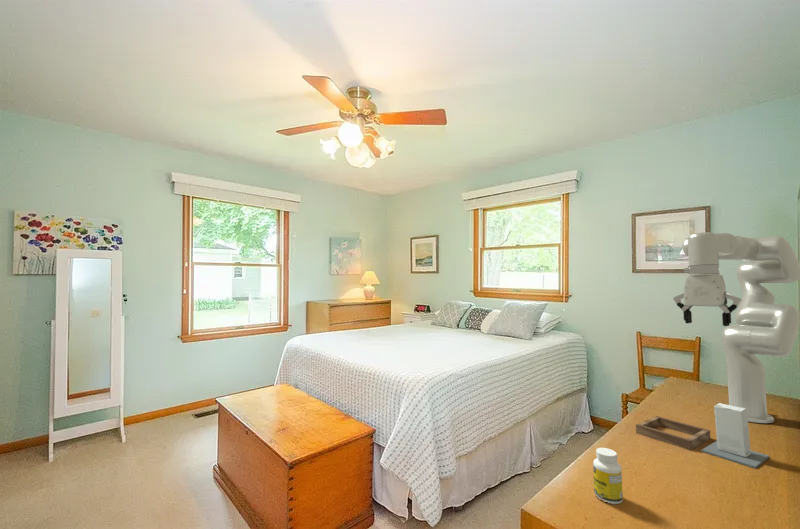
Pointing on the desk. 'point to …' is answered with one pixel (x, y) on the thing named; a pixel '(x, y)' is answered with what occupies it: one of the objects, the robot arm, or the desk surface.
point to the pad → (737, 456)
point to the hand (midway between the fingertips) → (706, 324)
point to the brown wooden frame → (689, 443)
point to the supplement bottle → (607, 476)
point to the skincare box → (732, 429)
